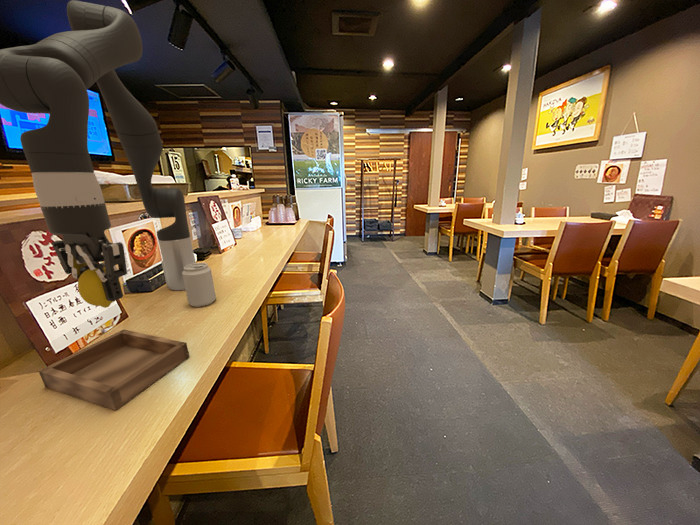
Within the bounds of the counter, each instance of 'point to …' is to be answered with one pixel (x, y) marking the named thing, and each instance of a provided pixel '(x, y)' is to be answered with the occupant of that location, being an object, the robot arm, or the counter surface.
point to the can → (199, 284)
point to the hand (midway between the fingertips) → (103, 297)
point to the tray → (115, 368)
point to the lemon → (92, 289)
